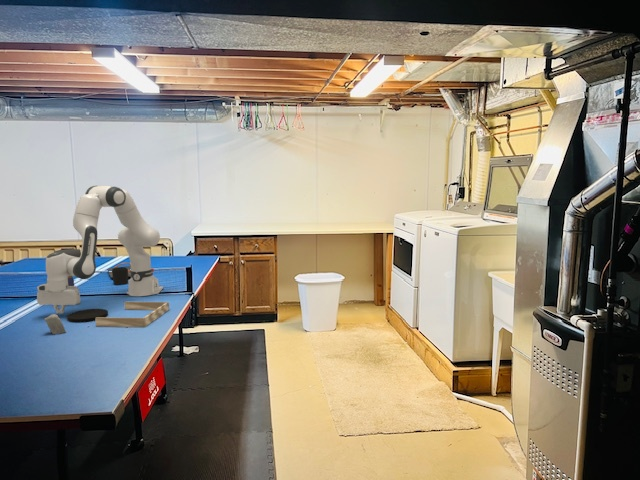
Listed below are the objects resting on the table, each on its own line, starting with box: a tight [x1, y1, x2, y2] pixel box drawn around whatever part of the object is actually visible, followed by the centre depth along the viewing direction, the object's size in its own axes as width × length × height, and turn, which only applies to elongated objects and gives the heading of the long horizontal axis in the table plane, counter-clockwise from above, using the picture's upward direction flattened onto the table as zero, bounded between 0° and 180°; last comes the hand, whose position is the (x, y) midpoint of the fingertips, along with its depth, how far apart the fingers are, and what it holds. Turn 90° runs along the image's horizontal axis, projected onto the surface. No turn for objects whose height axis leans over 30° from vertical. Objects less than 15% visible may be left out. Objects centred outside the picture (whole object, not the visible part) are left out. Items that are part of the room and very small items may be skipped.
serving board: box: [107, 262, 131, 279], centre depth 326 cm, size 39×23×6 cm, turn 28°
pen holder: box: [112, 266, 129, 286], centre depth 295 cm, size 9×9×10 cm
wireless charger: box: [66, 308, 109, 324], centre depth 224 cm, size 18×18×2 cm
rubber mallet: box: [53, 248, 82, 286], centre depth 245 cm, size 12×8×30 cm, turn 115°
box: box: [94, 301, 170, 328], centre depth 222 cm, size 28×23×4 cm
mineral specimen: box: [44, 313, 67, 335], centre depth 201 cm, size 7×9×8 cm
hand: (60, 313), depth 225 cm, fingers closed
